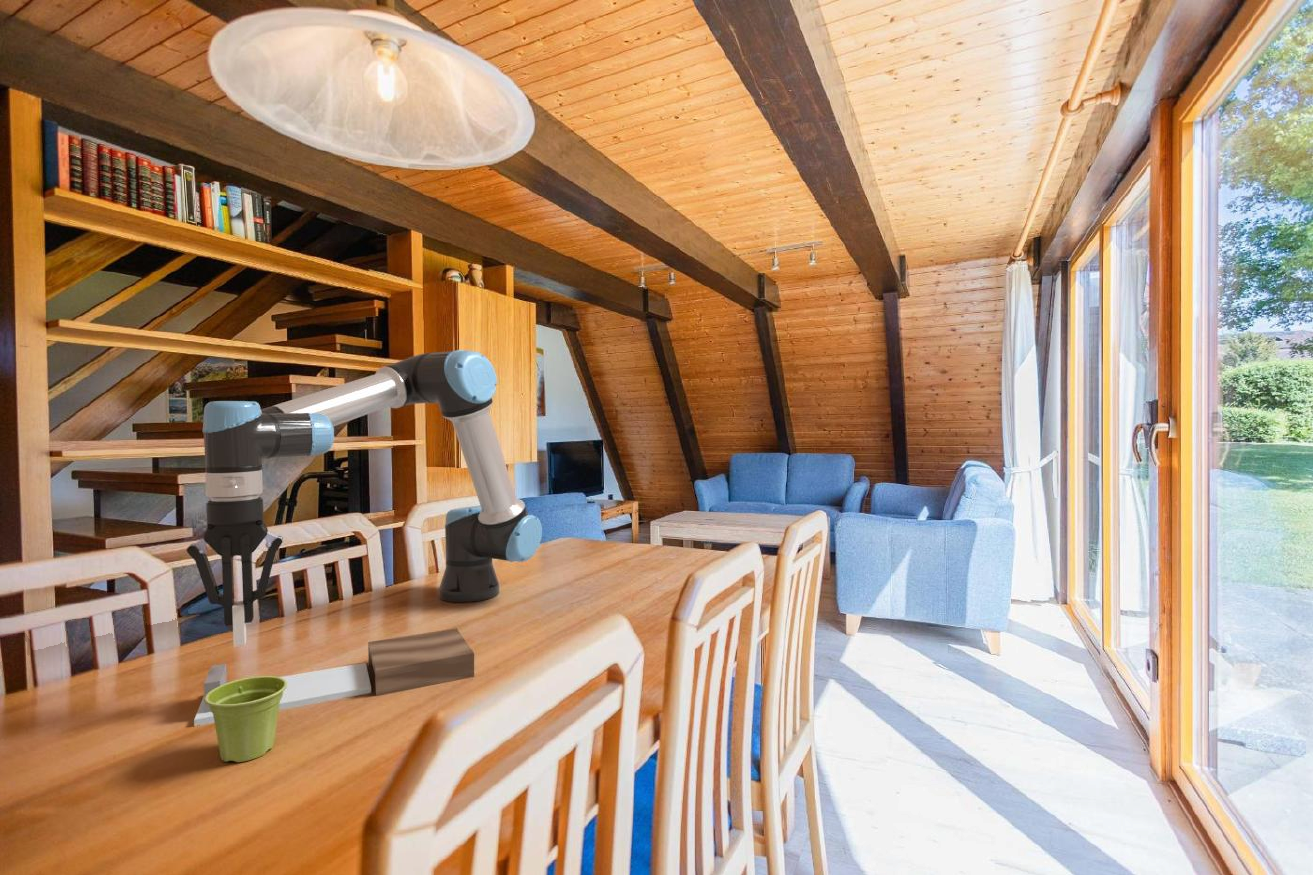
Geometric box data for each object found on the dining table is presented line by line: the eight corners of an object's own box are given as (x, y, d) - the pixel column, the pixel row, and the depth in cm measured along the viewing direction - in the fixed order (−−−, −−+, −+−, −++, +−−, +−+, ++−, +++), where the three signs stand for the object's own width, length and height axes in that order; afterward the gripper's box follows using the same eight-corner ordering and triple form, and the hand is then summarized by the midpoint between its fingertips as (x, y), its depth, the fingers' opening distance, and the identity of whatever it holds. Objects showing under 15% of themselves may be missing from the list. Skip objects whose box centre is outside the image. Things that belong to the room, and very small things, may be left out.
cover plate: (206, 698, 103) (205, 662, 103) (365, 670, 115) (365, 638, 115) (194, 729, 93) (193, 689, 93) (371, 695, 104) (370, 660, 104)
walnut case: (368, 664, 116) (368, 642, 116) (456, 649, 124) (456, 628, 124) (376, 695, 103) (375, 670, 103) (474, 676, 111) (474, 653, 111)
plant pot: (277, 727, 92) (277, 670, 92) (296, 752, 86) (295, 689, 85) (200, 751, 86) (199, 689, 86) (213, 779, 79) (212, 711, 79)
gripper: (179, 503, 93) (185, 659, 94) (281, 497, 99) (286, 643, 100) (188, 497, 99) (193, 643, 100) (283, 492, 106) (287, 629, 107)
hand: (240, 643), depth 100 cm, fingers closed
